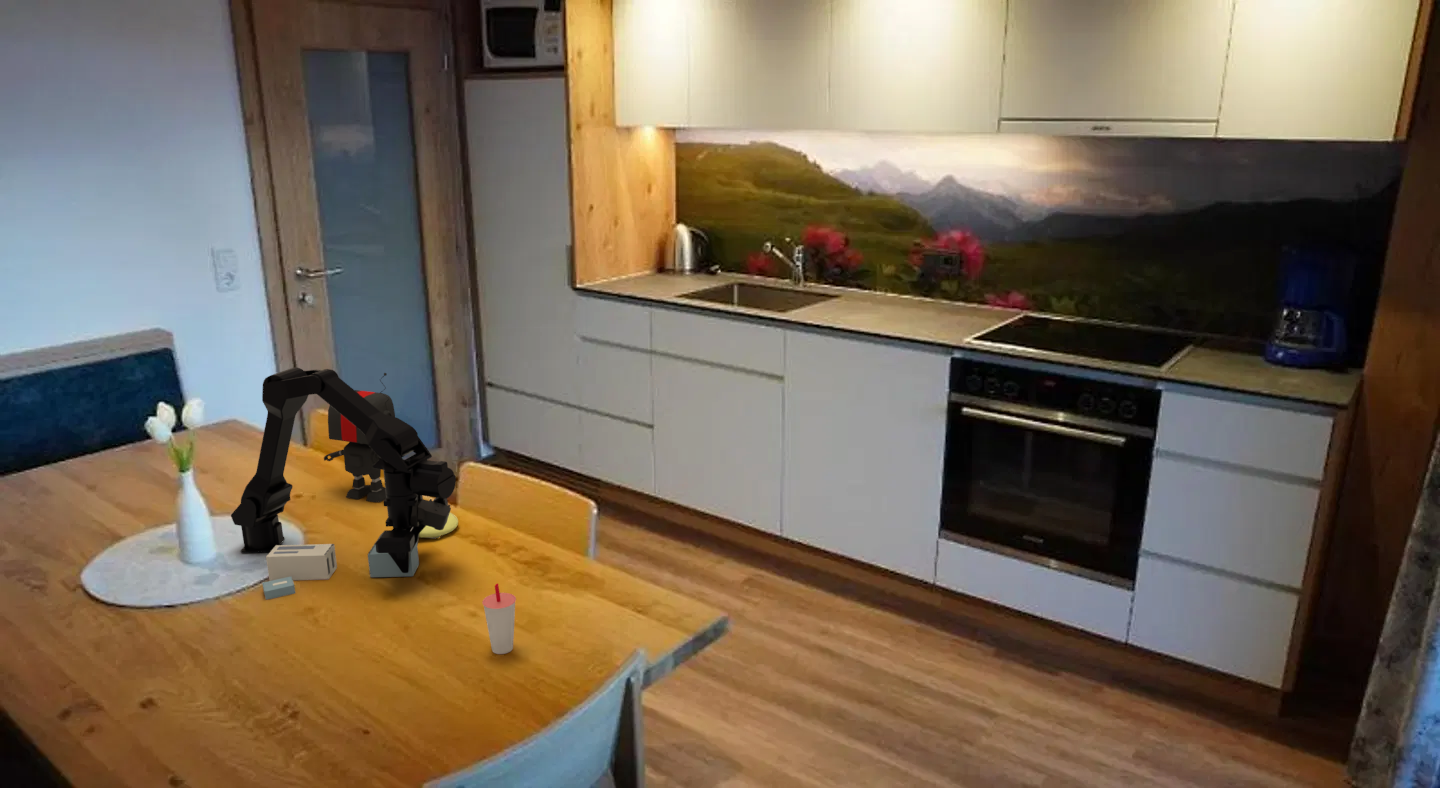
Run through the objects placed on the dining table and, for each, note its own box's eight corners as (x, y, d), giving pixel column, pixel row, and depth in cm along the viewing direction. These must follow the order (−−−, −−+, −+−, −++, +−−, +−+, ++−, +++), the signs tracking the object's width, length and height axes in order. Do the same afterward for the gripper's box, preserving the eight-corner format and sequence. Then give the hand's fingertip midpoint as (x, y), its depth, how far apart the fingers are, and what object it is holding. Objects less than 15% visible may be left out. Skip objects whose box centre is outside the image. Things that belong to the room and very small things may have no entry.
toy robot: (421, 494, 225) (410, 369, 216) (396, 509, 216) (383, 380, 208) (344, 483, 232) (330, 361, 223) (317, 497, 223) (301, 371, 215)
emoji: (466, 506, 210) (412, 500, 211) (446, 529, 199) (389, 523, 200) (466, 522, 211) (412, 516, 212) (446, 547, 200) (389, 540, 201)
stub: (370, 577, 185) (367, 553, 184) (377, 565, 190) (374, 542, 188) (412, 576, 185) (410, 552, 184) (419, 564, 190) (416, 541, 189)
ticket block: (269, 580, 184) (265, 556, 182) (279, 568, 189) (275, 544, 187) (328, 579, 185) (325, 554, 183) (337, 567, 189) (334, 543, 188)
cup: (481, 656, 159) (476, 590, 155) (491, 639, 164) (486, 575, 160) (514, 658, 158) (509, 591, 155) (522, 640, 164) (518, 576, 160)
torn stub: (266, 601, 177) (264, 591, 176) (263, 592, 180) (262, 582, 180) (295, 594, 179) (294, 584, 179) (292, 585, 183) (291, 576, 182)
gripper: (434, 509, 175) (440, 588, 179) (454, 472, 192) (460, 544, 197) (370, 511, 174) (379, 589, 178) (397, 473, 192) (404, 545, 196)
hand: (408, 566), depth 187 cm, fingers closed on stub, 5 cm apart
